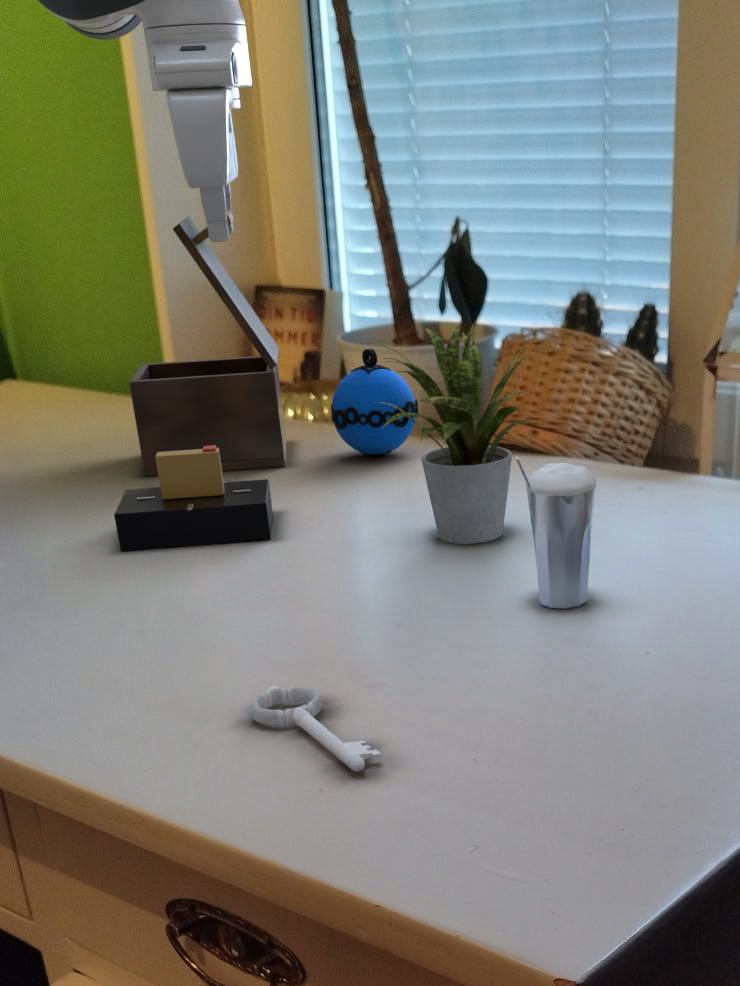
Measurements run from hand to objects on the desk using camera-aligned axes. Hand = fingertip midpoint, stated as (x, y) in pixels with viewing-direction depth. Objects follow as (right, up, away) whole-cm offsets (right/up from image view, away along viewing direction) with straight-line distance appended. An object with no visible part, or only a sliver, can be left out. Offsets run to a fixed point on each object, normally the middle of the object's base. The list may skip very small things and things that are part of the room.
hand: (222, 238), depth 123 cm
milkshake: (+29, -41, -33) cm, 60 cm away
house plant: (+22, -32, -17) cm, 43 cm away
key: (+15, -51, -51) cm, 74 cm away
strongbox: (-2, -18, +10) cm, 20 cm away
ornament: (+14, -18, +8) cm, 24 cm away
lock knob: (+1, -28, -15) cm, 32 cm away
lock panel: (+1, -31, -14) cm, 34 cm away
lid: (0, -4, +2) cm, 5 cm away
